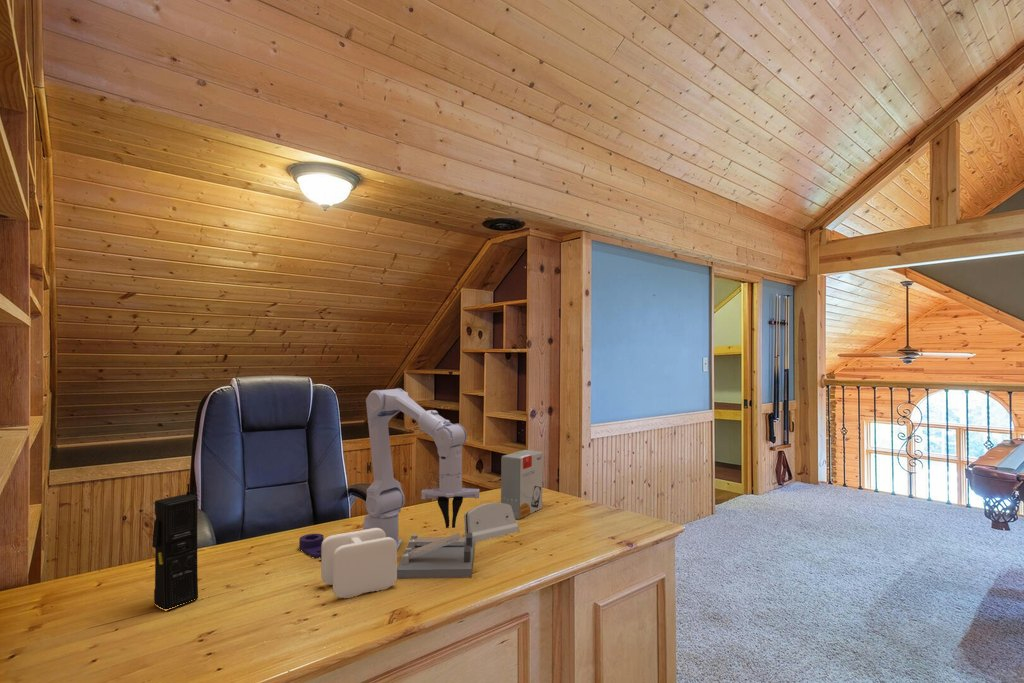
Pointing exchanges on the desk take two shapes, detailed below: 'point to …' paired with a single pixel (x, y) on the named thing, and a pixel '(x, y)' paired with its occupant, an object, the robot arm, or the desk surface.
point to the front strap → (433, 546)
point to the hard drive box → (522, 482)
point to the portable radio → (175, 550)
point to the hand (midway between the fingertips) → (450, 526)
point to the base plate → (438, 561)
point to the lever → (311, 544)
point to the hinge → (490, 521)
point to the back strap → (429, 540)
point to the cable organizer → (359, 562)
